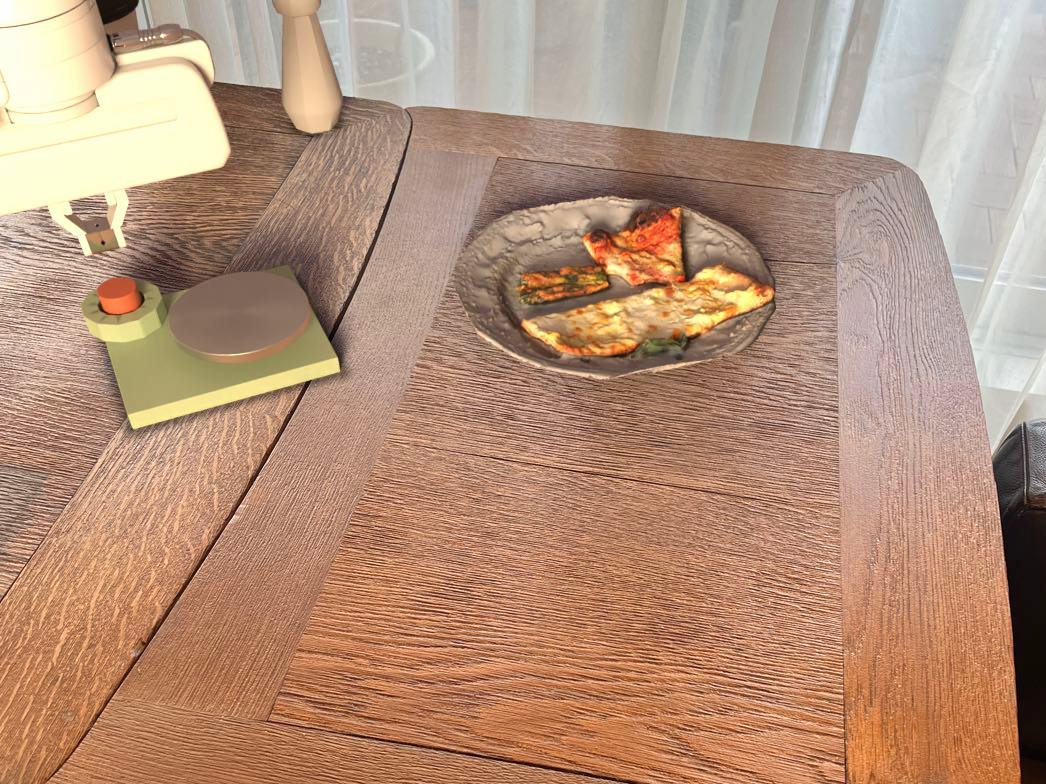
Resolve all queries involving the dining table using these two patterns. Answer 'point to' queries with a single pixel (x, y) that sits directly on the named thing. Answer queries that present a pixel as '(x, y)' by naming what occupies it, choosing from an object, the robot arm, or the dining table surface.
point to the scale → (193, 360)
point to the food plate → (614, 287)
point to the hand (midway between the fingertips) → (105, 247)
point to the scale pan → (239, 317)
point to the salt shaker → (307, 68)
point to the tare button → (119, 296)
